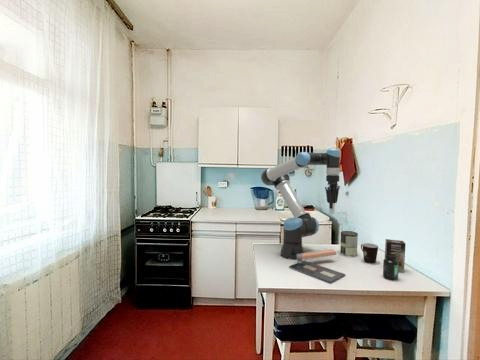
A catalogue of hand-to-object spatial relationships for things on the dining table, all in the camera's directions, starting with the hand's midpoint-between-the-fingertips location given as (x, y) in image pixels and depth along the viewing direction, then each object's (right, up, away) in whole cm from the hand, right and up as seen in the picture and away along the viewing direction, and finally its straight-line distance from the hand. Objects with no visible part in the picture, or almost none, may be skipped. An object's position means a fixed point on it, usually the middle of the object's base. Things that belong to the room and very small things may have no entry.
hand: (331, 213), depth 162 cm
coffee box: (+30, -30, -13) cm, 44 cm away
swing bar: (-11, -25, -5) cm, 28 cm away
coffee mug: (+23, -29, 0) cm, 36 cm away
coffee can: (+15, -28, +12) cm, 34 cm away
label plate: (-14, -30, -17) cm, 37 cm away
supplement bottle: (+22, -30, -24) cm, 44 cm away
